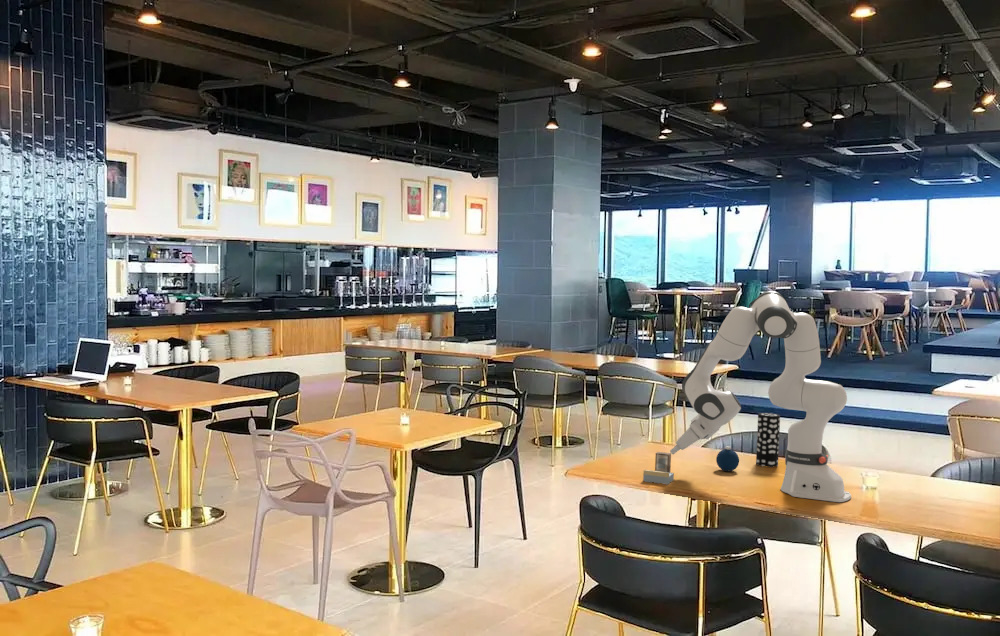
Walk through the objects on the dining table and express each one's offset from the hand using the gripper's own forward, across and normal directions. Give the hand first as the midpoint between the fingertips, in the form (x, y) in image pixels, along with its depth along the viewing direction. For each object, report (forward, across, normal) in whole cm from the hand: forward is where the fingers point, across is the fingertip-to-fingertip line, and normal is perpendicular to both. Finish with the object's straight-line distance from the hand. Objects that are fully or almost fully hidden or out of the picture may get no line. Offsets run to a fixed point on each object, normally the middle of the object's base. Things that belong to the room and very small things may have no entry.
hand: (674, 450), depth 306 cm
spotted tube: (-14, -41, +27) cm, 51 cm away
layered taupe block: (+10, -2, +4) cm, 11 cm away
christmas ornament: (-5, -21, +18) cm, 28 cm away
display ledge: (+9, +8, +4) cm, 13 cm away
